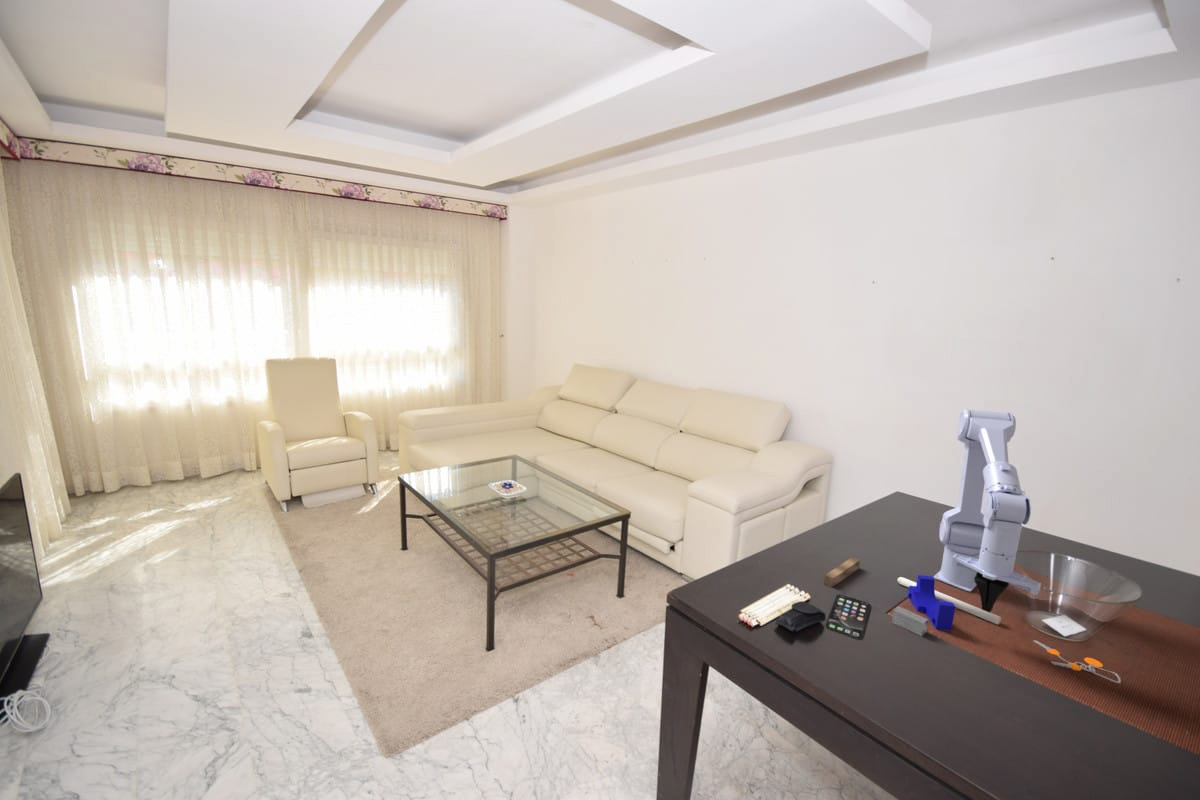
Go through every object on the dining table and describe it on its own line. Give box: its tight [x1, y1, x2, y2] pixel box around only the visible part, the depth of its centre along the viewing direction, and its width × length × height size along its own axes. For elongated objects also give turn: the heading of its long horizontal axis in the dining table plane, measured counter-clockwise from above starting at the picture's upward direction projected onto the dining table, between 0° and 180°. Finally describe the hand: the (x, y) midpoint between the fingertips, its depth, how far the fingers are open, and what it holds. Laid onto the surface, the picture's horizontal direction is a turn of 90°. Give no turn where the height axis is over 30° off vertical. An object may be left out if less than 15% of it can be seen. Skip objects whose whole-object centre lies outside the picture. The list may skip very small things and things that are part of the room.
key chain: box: [1033, 639, 1122, 684], centre depth 103 cm, size 13×7×1 cm, turn 52°
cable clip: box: [907, 574, 956, 632], centre depth 117 cm, size 12×4×6 cm, turn 169°
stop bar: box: [823, 556, 861, 588], centre depth 132 cm, size 14×2×2 cm, turn 129°
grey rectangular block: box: [891, 605, 929, 637], centre depth 113 cm, size 2×6×3 cm, turn 39°
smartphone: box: [824, 594, 871, 641], centre depth 117 cm, size 7×1×15 cm
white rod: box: [897, 576, 1002, 626], centre depth 122 cm, size 2×21×2 cm, turn 39°
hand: (987, 609), depth 108 cm, fingers closed
